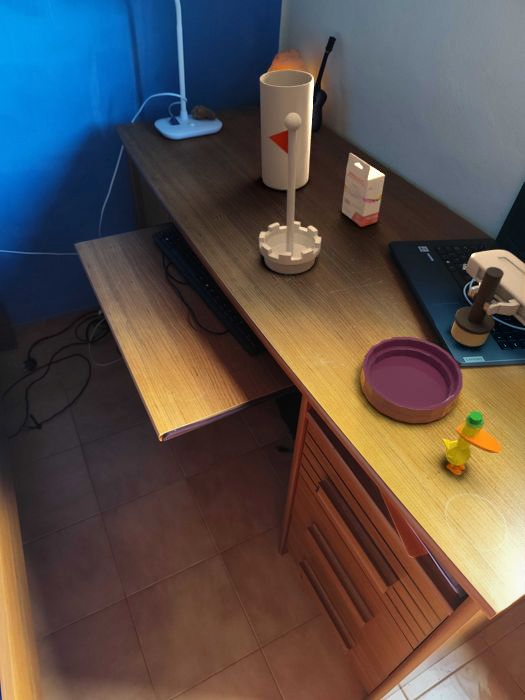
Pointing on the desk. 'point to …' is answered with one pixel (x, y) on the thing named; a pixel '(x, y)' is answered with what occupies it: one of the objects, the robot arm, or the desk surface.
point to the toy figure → (469, 442)
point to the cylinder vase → (276, 103)
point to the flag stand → (289, 218)
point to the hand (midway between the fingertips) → (478, 301)
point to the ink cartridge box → (362, 191)
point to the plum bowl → (410, 379)
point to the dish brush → (477, 312)
